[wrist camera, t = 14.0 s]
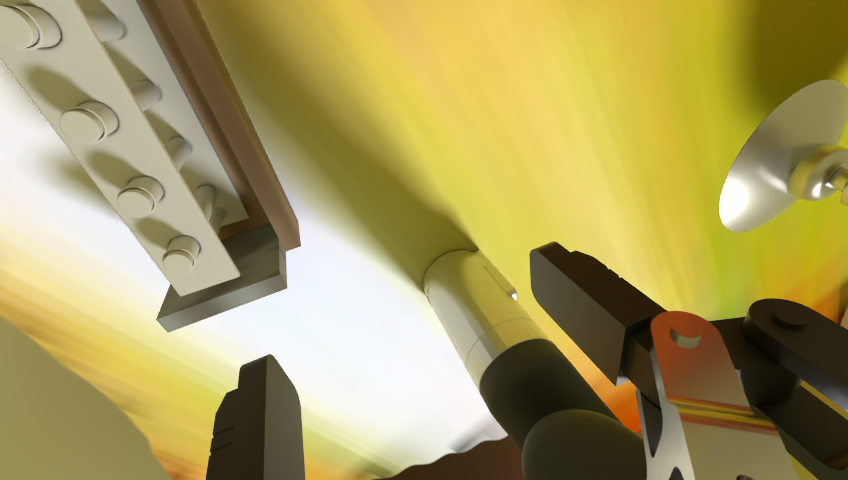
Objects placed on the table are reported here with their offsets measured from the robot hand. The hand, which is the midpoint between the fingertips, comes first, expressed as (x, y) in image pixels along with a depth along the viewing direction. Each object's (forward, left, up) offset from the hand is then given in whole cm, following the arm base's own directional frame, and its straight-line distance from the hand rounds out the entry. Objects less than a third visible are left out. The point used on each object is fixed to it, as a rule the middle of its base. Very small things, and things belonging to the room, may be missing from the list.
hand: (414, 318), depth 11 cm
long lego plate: (+12, -6, -29) cm, 32 cm away
